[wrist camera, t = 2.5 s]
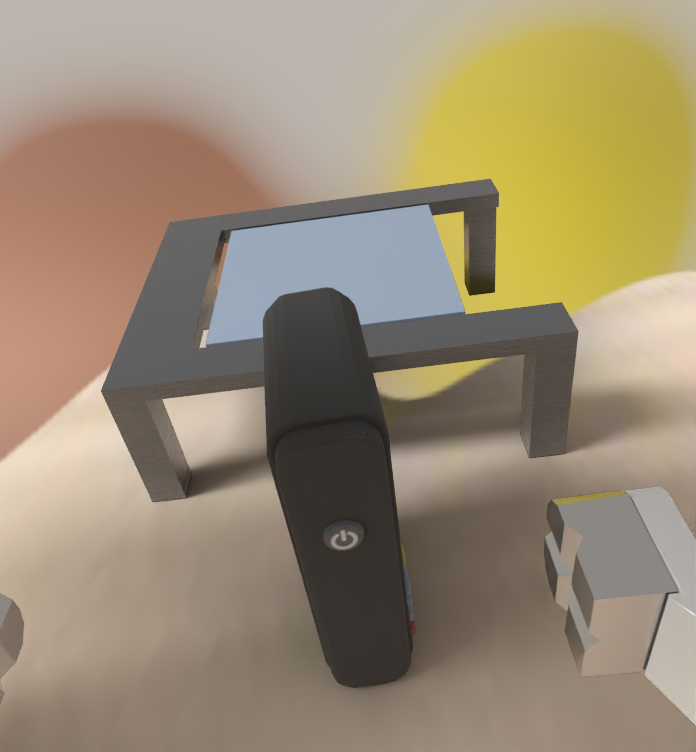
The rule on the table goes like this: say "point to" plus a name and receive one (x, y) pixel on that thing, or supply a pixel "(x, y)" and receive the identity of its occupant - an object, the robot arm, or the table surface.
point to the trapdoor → (337, 270)
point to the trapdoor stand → (384, 343)
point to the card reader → (337, 484)
